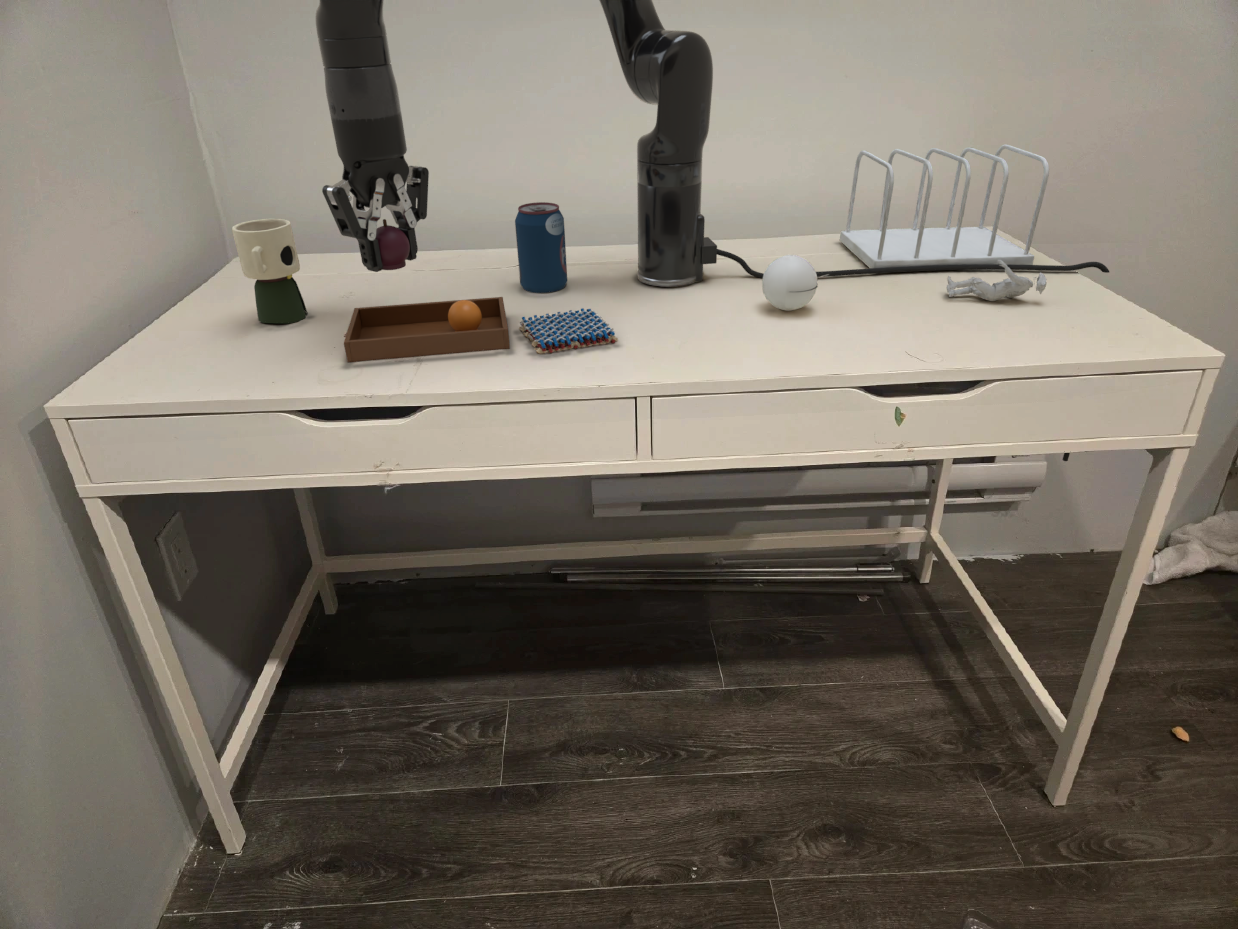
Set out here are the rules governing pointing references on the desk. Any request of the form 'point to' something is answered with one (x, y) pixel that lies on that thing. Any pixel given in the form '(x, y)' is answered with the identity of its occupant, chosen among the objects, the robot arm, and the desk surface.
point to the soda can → (541, 247)
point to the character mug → (271, 268)
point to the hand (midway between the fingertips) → (392, 263)
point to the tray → (422, 331)
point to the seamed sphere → (789, 282)
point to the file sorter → (940, 242)
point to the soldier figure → (996, 286)
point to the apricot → (464, 316)
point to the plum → (392, 246)
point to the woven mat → (567, 331)
